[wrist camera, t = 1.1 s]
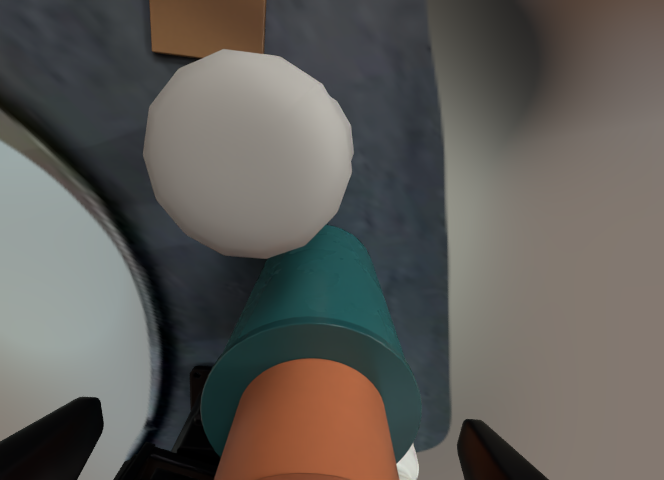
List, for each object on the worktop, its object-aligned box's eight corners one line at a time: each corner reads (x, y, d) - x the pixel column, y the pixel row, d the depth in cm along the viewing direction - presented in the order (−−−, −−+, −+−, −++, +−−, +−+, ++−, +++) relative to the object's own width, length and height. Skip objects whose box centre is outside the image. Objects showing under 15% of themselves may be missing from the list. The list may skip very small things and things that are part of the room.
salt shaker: (354, 189, 19) (402, 291, 7) (259, 201, 19) (138, 322, 7) (343, 81, 17) (382, -46, 5) (238, 95, 17) (24, 7, 5)
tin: (366, 328, 22) (400, 501, 12) (261, 318, 22) (201, 488, 11) (383, 229, 20) (444, 335, 10) (266, 216, 20) (198, 311, 9)
